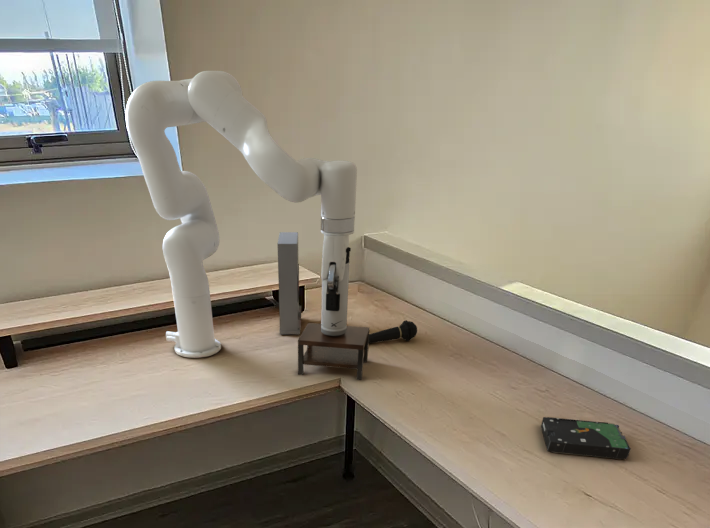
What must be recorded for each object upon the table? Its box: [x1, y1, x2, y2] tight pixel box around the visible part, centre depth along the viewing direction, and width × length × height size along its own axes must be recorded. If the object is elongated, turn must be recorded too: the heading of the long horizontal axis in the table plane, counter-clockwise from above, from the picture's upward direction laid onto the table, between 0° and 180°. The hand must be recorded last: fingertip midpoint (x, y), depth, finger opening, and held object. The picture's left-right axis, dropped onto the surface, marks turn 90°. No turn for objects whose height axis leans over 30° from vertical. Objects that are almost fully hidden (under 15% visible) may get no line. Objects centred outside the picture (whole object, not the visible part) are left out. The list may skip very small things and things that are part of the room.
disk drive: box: [540, 416, 632, 460], centre depth 112 cm, size 10×3×15 cm
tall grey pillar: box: [277, 231, 302, 336], centre depth 159 cm, size 14×6×25 cm, turn 179°
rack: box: [297, 322, 370, 381], centre depth 140 cm, size 16×12×9 cm
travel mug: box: [320, 246, 352, 336], centre depth 132 cm, size 6×7×20 cm
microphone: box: [368, 320, 418, 345], centre depth 155 cm, size 6×6×20 cm
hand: (335, 304), depth 134 cm, fingers closed on travel mug, 6 cm apart
